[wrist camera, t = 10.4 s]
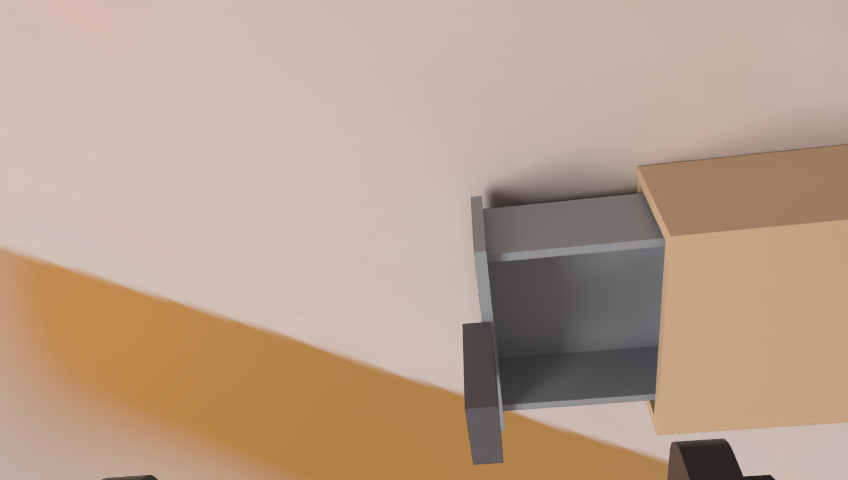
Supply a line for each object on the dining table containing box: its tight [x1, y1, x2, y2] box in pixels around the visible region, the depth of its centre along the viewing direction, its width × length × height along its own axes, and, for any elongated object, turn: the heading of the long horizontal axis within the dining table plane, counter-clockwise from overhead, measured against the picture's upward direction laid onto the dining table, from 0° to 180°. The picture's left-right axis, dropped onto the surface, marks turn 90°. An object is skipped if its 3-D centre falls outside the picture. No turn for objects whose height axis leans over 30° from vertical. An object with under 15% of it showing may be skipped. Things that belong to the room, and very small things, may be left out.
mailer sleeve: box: [637, 144, 848, 435], centre depth 39 cm, size 13×14×7 cm
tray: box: [463, 193, 665, 465], centre depth 38 cm, size 14×13×11 cm
